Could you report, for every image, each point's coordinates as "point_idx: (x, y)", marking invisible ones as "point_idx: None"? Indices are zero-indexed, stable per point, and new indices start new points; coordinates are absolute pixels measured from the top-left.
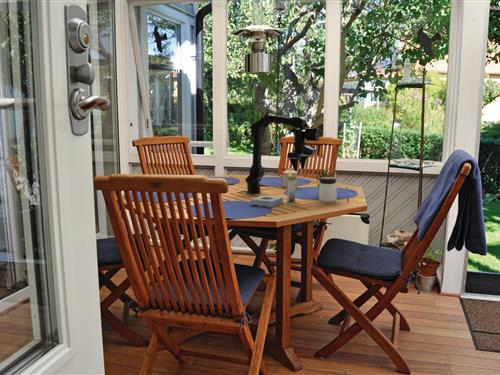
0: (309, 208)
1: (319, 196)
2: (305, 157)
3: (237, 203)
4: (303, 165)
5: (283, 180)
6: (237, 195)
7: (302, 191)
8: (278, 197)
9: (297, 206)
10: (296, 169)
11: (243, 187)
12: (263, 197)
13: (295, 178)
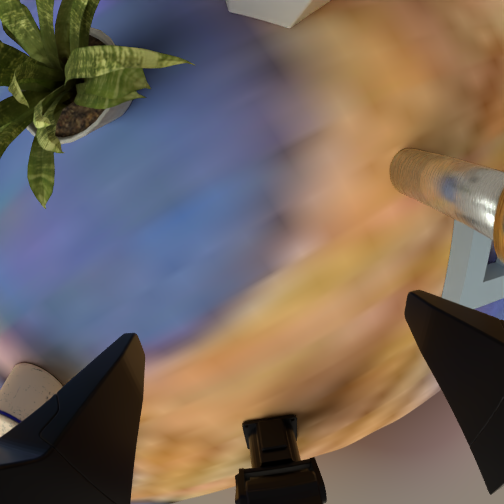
0: (483, 35)
1: (302, 16)
2: (36, 500)
3: None
4: (122, 376)
5: None
6: (351, 428)
7: (69, 290)
8: None
9: (482, 94)
10: (434, 300)
11: (191, 481)
12: (488, 280)
13: (14, 396)
